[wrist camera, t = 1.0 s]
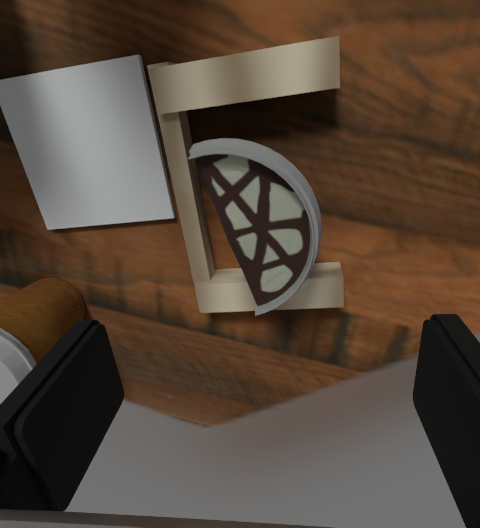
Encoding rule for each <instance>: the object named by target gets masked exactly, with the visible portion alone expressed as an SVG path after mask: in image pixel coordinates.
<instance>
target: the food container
mask: <svg viewBox="0 0 480 528" xmlns="http://www.w3.org/2000/svg"><path fill="white" fill-rule="evenodd" d="M189 153H190V157H189V158H188V159H193V158H195V159H196V162H197V164H198V167H199V170H200V172H201V174H202V176H203V178H204V180H205V182H206V184H207V187H208V189H209V192H210V194H211V197H212V199H213V202H214V204H215V207H216V209H217V212H218V214H219V217H220V220H221V223H222V225H223V228H224V231H225V233H226V236H227V239H228V241H229V243H230V245H231V247H232V250H233V252H234V254H235V256H236V258H237V260H238V262H239V265H240V267H241V269H242V271H243V274H244V276H245V278H246V281H247V283H248V285H249V288H250V290H251V293H252V295H253V297H254V300H255V302H256V308H255V316H257V315H260V314H263V313H266V312H268V311H270V310H272V309H274V308H276V307H278V306H279V305H281V304H282V303H283V302H285V301H286V300H287V299H289V298H290V297H291V296H292V295H293V294H294V293H295V292H296V291H297V290H298V289H299V288H300V287H301V286H302V284H303V283H304V281H305V280H306V279H307V277H308V275H309V273H310V271H311V269H312V267H313V265H314V262H315V260H316V257H317V254H318V251H319V248H320V242H321V234H322V225H321V215H320V210H319V206H318V203H317V200H316V198H315V195H314V193H313V190H312V189H311V187H310V185H309V184H308V182H307V181H306V179H305V177H304V176H303V175H302V174H301V173H300V172H299V170H298V169H297V168H296V167H295V166H294V165H293V164H292V163H290V162H289V161H288V160H287V159H286V158H284V157H283V156H282V155H280V154H278V153H277V152H275V151H273V150H272V149H270V148H268V147H265V146H263V145H260V144H258V143H255V142H251V141H246V140H241V139H231V138H219V139H212V140H206V141H202V142H199V143H196V144H193V145H192V147H191V149H190V151H189Z"/></svg>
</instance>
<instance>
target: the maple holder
mask: <svg viewBox="0 0 480 528" xmlns="http://www.w3.org/2000/svg"><path fill="white" fill-rule="evenodd" d="M147 67H148V72H149V76H150V81H151V86H152V90H153V95H154V100H155V104H156V109H157V114H158V118H159V123H160V128H161V132H162V137H163V142H164V146H165V151H166V156H167V160H168V165H169V170H170V174H171V179H172V184H173V188H174V193H175V198H176V202H177V207H178V212H179V216H180V221H181V226H182V230H183V235H184V240H185V244H186V249H187V254H188V258H189V263H190V268H191V272H192V277H193V282H194V286H195V291H196V296H197V300H198V305H199V309H200V312H201V313H214V312H239V311H255V308H256V302H255V300H254V297H253V295H252V293H251V290H250V288H249V285H248V283H247V281H246V278H245V276H244V274H243V271H242V269H241V268H232V269H215V264H214V258H213V253H212V247H211V242H210V236H209V231H208V225H207V220H206V214H205V209H204V203H203V198H202V192H201V187H200V182H199V176H198V171H197V165H196V160H195V158H193V159H188V158H189V157H190V153H189V151H190V149H191V147H192V145H193V143H192V138H191V132H190V127H189V121H188V116H187V110H193V109H200V108H207V107H213V106H220V105H227V104H233V103H240V102H247V101H254V100H260V99H267V98H274V97H281V96H287V95H294V94H301V93H308V92H314V91H321V90H328V89H335V88H340V54H339V36H336V37H330V38H324V39H318V40H313V41H307V42H301V43H295V44H290V45H284V46H278V47H272V48H267V49H261V50H255V51H249V52H244V53H238V54H232V55H226V56H221V57H215V58H209V59H203V60H198V61H192V62H186V63H180V64H176V63H172V62H164V63H158V64H152V65H147ZM337 307H344V281H343V273H342V269H341V266H340V262H327V263H314V265H313V267H312V269H311V271H310V273H309V275H308V277H307V279H306V280H305V281H304V283H303V284H302V286H301V287H300V288H299V289H298V290H297V291H296V292H295V293H294V294H293V295H292V296H291V297H290V298H289V299H287V300H286V301H285V302H283V303H282V304H281V305H279V306H278V307H276V308H274V309H272V310H288V309H312V308H337Z"/></svg>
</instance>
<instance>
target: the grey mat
mask: <svg viewBox="0 0 480 528" xmlns="http://www.w3.org/2000/svg"><path fill="white" fill-rule="evenodd" d="M0 106H1V109H2V111H3V114H4V117H5V119H6V122H7V125H8V127H9V130H10V132H11V135H12V138H13V140H14V143H15V146H16V148H17V151H18V154H19V156H20V159H21V161H22V164H23V167H24V169H25V172H26V175H27V177H28V180H29V182H30V185H31V188H32V190H33V193H34V196H35V198H36V201H37V203H38V206H39V209H40V211H41V214H42V217H43V219H44V222H45V225H46V227H47V230H51V229H62V228H73V227H84V226H95V225H106V224H116V223H127V222H138V221H149V220H160V219H171V218H175V217H176V214H175V209H174V204H173V200H172V195H171V191H170V186H169V181H168V177H167V172H166V168H165V163H164V159H163V154H162V149H161V145H160V140H159V136H158V131H157V127H156V122H155V117H154V113H153V108H152V104H151V99H150V95H149V90H148V85H147V81H146V76H145V72H144V67H143V63H142V58H141V55H133V56H128V57H122V58H117V59H111V60H106V61H100V62H95V63H89V64H84V65H78V66H73V67H67V68H62V69H56V70H51V71H45V72H40V73H35V74H29V75H24V76H18V77H13V78H7V79H2V80H0Z"/></svg>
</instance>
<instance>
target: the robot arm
mask: <svg viewBox="0 0 480 528" xmlns="http://www.w3.org/2000/svg"><path fill="white" fill-rule="evenodd" d="M123 398H124V390H123V386H122V383H121V379H120V376H119V373H118V369H117V366H116V362H115V359H114V356H113V352H112V349H111V345H110V342H109V339H108V335H107V332H106V329H105V326H104V325H102V324H100V323H99V321H97V320H78V321H76V322H75V323H74V324H73V325H72V326H71V327H70V328H69V329H68V331H67V332H66V333H65V334H64V335H63V336H62V337H61V338H60V339H59V340H58V342H57V343H56V344H55V345H54V346H53V347H52V348H51V349H50V350H49V351H48V353H47V354H46V355H45V356H44V357H43V358H42V359H41V360H40V361H39V362H38V364H37V365H36V366H35V367H34V368H33V369H32V370H31V371H30V372H29V373H28V374H27V376H26V377H25V378H24V379H23V380H22V381H21V382H20V383H19V384H18V385H17V387H16V388H15V389H14V390H13V391H12V392H11V393H10V394H9V395H8V396H7V398H6V399H5V400H4V401H3V402H2V403H1V404H0V528H331V527H316V526H301V525H284V524H270V523H254V522H236V521H221V520H204V519H203V520H202V519H187V518H170V517H154V516H135V515H117V514H97V513H79V512H63V511H64V510H65V509H66V508H67V507H68V505H69V504H70V502H71V500H72V498H73V496H74V494H75V492H76V490H77V488H78V486H79V484H80V482H81V480H82V479H83V477H84V475H85V473H86V471H87V469H88V467H89V465H90V463H91V461H92V459H93V457H94V456H95V454H96V452H97V450H98V448H99V446H100V444H101V442H102V440H103V438H104V436H105V434H106V432H107V430H108V428H109V427H110V425H111V423H112V421H113V419H114V417H115V415H116V413H117V411H118V409H119V408H120V406H121V404H122V401H123ZM413 402H414V406H415V409H416V411H417V413H418V416H419V418H420V420H421V422H422V425H423V427H424V430H425V432H426V434H427V436H428V439H429V441H430V443H431V446H432V448H433V451H434V453H435V455H436V458H437V460H438V462H439V465H440V467H441V469H442V472H443V474H444V477H445V479H446V481H447V483H448V486H449V488H450V490H451V493H452V495H453V498H454V500H455V502H456V504H457V507H458V509H459V512H460V514H461V516H462V519H463V521H464V523H465V526H466V528H480V343H479V341H478V340H477V339H476V338H475V336H474V335H473V334H472V333H471V331H470V330H469V329H468V328H467V326H466V325H465V324H464V323H463V321H462V320H461V319H460V318H459V316H458V315H456V314H433V315H432V316H431V318H430V320H425V321H424V323H423V329H422V335H421V342H420V349H419V356H418V363H417V369H416V376H415V382H414V389H413Z"/></svg>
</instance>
